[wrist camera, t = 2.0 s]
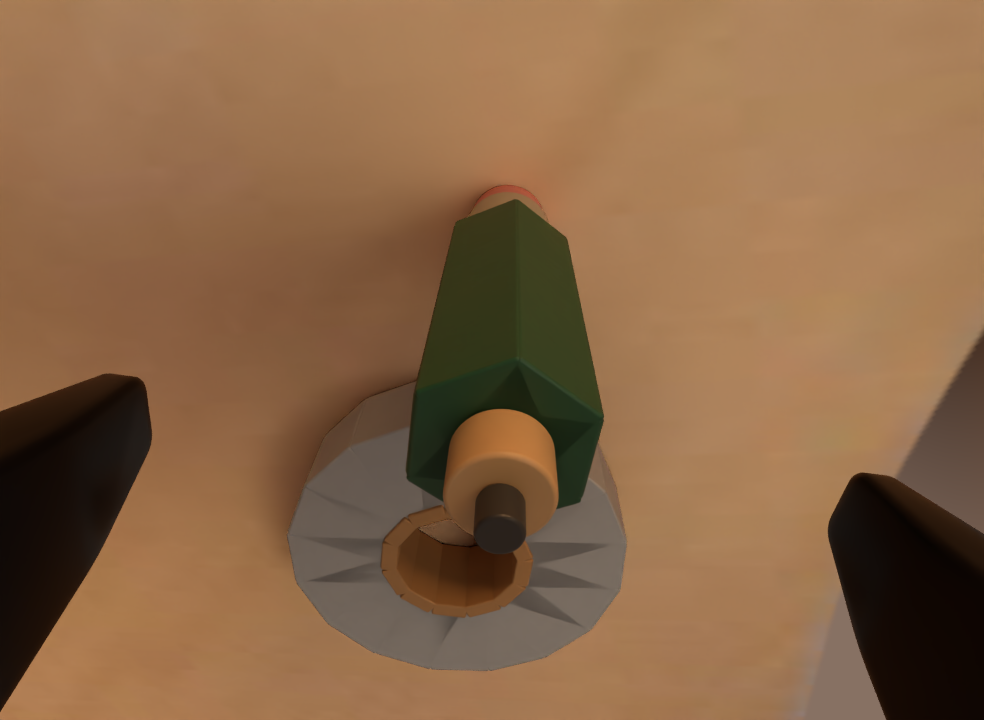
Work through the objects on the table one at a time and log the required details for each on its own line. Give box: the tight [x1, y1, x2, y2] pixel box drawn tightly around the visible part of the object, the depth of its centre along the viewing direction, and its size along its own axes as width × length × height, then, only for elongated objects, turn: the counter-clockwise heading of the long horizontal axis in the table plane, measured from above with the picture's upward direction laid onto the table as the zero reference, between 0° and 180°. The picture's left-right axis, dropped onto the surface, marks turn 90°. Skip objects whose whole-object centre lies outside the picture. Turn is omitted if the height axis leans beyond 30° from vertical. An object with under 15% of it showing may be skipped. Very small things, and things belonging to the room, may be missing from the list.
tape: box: [287, 381, 627, 671], centre depth 21 cm, size 10×10×3 cm
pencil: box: [405, 185, 604, 554], centre depth 13 cm, size 2×3×12 cm
